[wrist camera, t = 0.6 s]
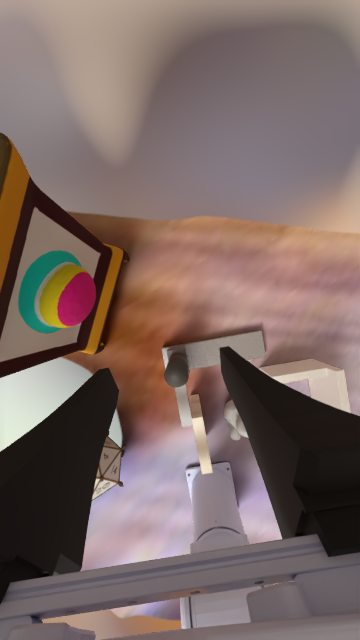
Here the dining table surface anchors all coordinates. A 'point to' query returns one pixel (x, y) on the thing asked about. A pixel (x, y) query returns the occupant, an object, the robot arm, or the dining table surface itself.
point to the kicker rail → (208, 349)
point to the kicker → (193, 417)
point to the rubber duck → (234, 421)
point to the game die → (108, 468)
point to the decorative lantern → (48, 274)
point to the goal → (314, 380)
